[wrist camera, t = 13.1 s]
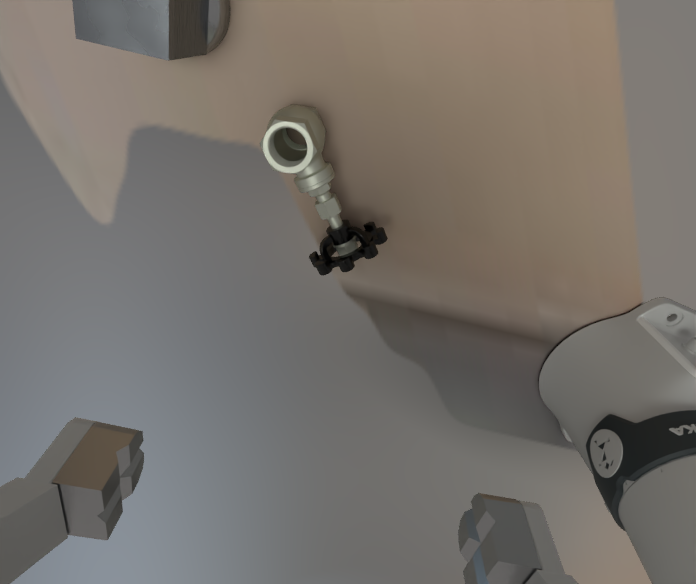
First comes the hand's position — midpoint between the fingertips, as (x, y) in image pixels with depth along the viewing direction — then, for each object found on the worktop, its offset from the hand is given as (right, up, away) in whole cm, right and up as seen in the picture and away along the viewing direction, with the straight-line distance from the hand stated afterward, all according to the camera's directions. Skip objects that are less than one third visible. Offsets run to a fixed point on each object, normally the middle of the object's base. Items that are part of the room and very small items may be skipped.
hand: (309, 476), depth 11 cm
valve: (-1, +14, +26) cm, 30 cm away
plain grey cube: (-10, +23, +18) cm, 31 cm away
